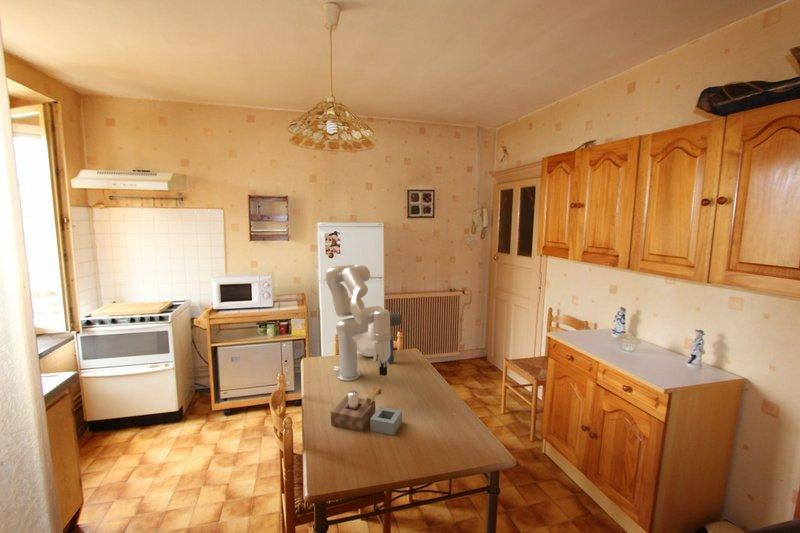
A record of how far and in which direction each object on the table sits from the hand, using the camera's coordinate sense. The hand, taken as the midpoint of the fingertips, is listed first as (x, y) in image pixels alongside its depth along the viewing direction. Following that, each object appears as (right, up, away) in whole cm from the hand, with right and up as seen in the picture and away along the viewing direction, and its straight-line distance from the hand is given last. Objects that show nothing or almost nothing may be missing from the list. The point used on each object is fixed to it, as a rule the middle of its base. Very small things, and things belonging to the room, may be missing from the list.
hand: (383, 374), depth 169 cm
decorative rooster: (-15, -5, +58) cm, 60 cm away
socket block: (-12, -15, -13) cm, 23 cm away
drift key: (-4, -8, -8) cm, 12 cm away
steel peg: (-12, -15, -13) cm, 23 cm away
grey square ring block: (+2, -16, -19) cm, 24 cm away
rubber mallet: (+2, -7, +46) cm, 46 cm away
